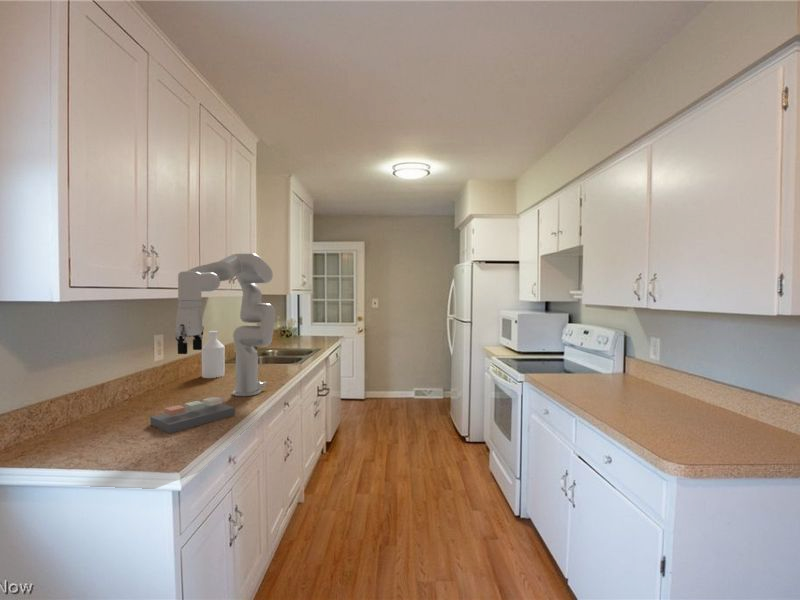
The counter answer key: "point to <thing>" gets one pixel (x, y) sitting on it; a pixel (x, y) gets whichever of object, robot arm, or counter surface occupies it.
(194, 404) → the sage key
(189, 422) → the keypad
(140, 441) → the counter surface
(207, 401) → the cream key
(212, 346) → the bottle
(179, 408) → the terracotta key
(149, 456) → the counter surface
